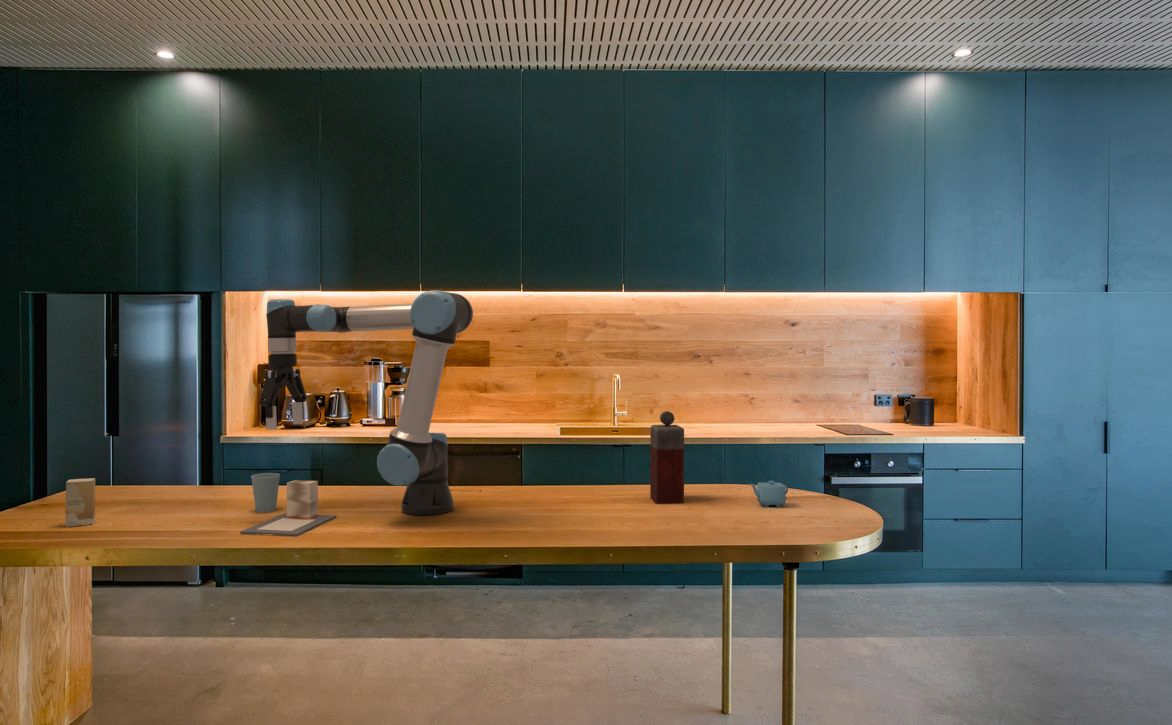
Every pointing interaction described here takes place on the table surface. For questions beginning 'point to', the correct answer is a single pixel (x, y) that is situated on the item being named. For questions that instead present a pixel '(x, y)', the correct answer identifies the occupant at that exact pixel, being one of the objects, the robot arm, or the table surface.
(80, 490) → the skincare box
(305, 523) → the mat
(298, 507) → the block
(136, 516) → the table surface
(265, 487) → the cup
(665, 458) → the pepper mill
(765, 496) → the teapot
